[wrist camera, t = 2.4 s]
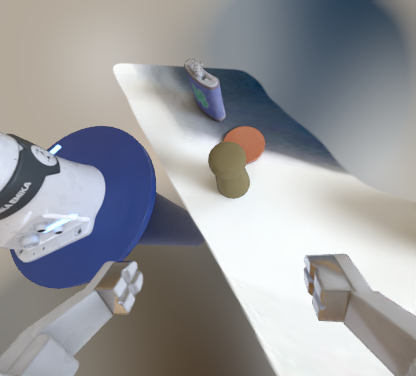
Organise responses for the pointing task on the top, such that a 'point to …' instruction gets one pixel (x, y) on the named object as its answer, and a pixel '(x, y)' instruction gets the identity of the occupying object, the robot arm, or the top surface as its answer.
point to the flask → (205, 90)
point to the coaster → (247, 141)
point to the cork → (229, 169)
